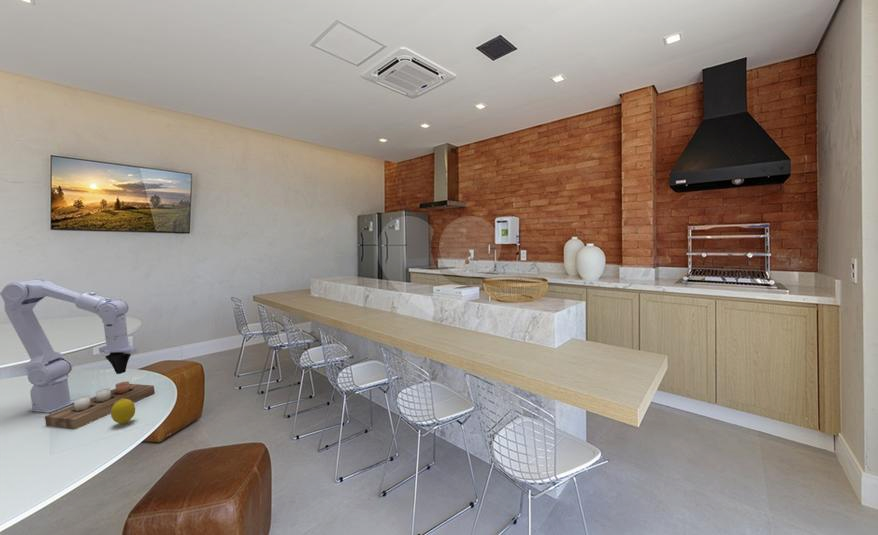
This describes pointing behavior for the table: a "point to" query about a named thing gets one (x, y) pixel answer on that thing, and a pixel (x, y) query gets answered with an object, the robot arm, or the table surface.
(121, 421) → the lemon
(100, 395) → the grey plug middle
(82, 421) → the walnut board
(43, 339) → the robot arm
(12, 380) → the table surface
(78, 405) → the grey plug right
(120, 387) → the terracotta plug
